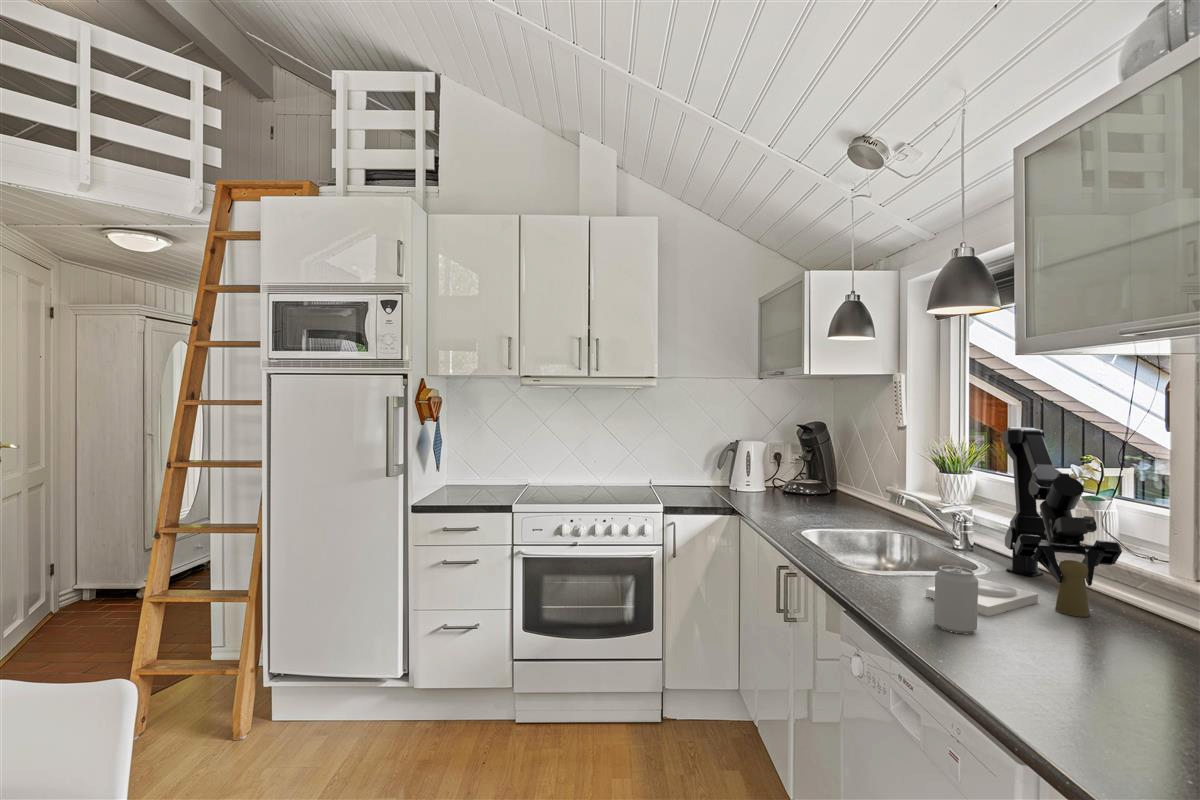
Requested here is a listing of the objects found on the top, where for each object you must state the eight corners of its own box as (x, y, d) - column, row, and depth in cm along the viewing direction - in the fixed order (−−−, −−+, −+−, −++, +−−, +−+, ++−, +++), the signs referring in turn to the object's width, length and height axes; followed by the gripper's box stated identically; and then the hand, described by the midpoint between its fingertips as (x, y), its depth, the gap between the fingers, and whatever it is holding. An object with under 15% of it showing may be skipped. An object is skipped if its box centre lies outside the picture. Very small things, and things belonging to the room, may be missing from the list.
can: (928, 628, 125) (930, 568, 124) (940, 619, 130) (941, 561, 130) (971, 638, 119) (972, 576, 119) (981, 629, 125) (983, 569, 125)
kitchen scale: (975, 585, 154) (976, 575, 154) (1038, 602, 142) (1038, 591, 142) (925, 597, 144) (926, 585, 144) (988, 616, 132) (988, 604, 132)
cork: (1095, 617, 132) (1097, 566, 132) (1063, 615, 133) (1065, 564, 133) (1080, 608, 138) (1081, 558, 138) (1049, 605, 139) (1050, 556, 139)
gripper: (1019, 498, 142) (1033, 559, 132) (1119, 505, 136) (1142, 568, 126) (1009, 526, 150) (1021, 585, 139) (1103, 533, 143) (1123, 595, 133)
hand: (1075, 583), depth 134 cm, fingers closed on cork, 5 cm apart
